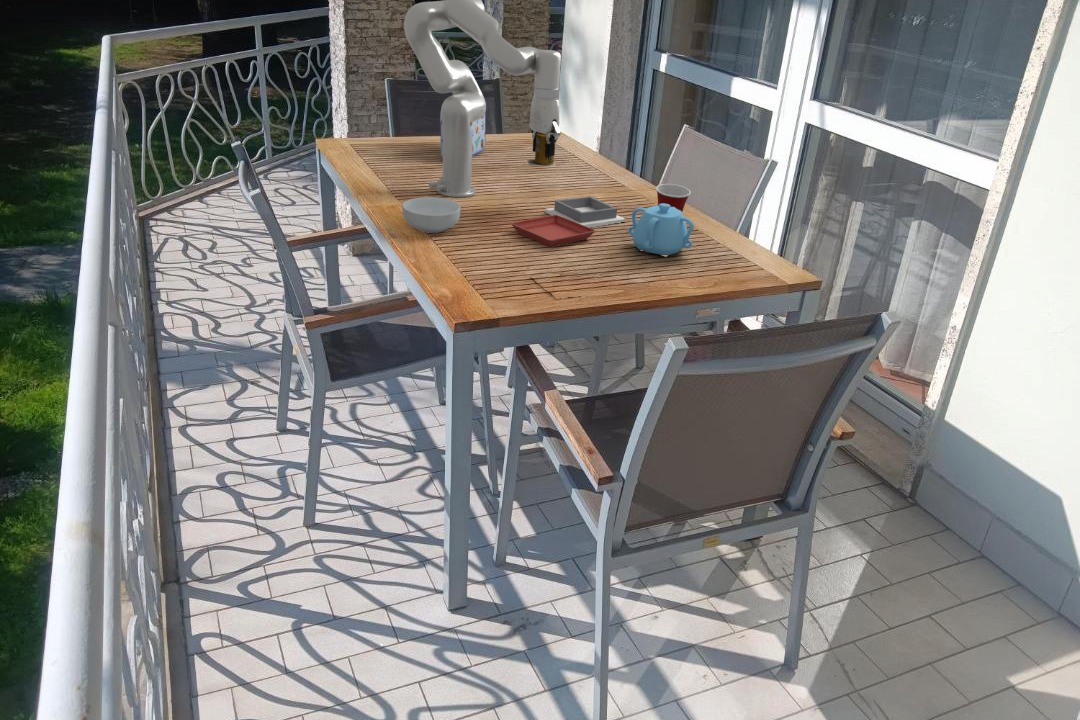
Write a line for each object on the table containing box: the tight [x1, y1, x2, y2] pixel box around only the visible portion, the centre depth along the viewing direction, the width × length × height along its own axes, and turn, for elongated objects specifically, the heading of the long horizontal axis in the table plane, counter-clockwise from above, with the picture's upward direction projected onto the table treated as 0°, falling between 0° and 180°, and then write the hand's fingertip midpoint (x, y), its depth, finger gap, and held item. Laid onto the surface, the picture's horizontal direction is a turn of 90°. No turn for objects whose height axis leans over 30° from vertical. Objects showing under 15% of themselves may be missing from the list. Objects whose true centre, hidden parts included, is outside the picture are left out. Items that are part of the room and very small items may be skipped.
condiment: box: [526, 131, 557, 167], centre depth 267 cm, size 7×8×12 cm
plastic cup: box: [655, 183, 692, 213], centre depth 268 cm, size 11×11×12 cm
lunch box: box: [439, 110, 487, 159], centre depth 325 cm, size 28×10×22 cm, turn 162°
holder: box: [545, 195, 626, 228], centre depth 271 cm, size 18×18×4 cm
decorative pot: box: [628, 203, 695, 256], centre depth 246 cm, size 16×16×14 cm
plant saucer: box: [511, 215, 596, 248], centre depth 253 cm, size 18×18×3 cm
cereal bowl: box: [401, 196, 461, 234], centre depth 250 cm, size 17×17×7 cm
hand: (543, 153), depth 268 cm, fingers closed on condiment, 6 cm apart
